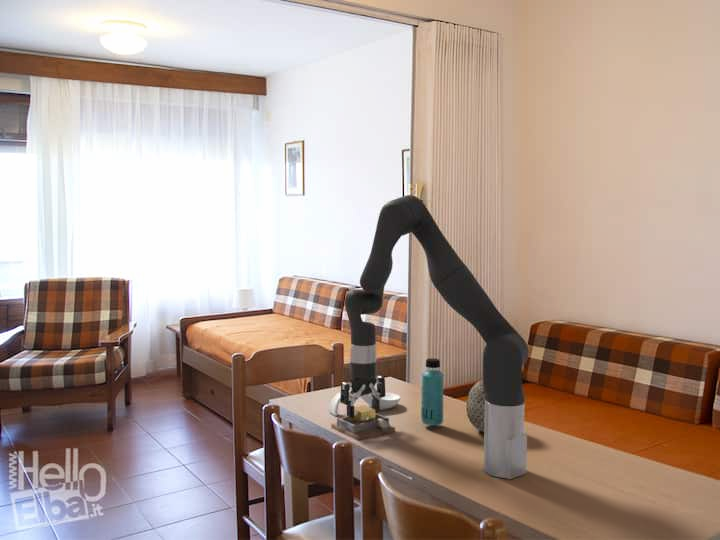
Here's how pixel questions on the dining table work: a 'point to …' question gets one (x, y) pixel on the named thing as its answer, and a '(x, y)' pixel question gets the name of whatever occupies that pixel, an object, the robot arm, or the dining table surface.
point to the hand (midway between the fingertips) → (363, 415)
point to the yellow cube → (363, 415)
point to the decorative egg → (476, 406)
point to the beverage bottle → (432, 394)
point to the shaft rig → (363, 427)
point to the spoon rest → (367, 401)
